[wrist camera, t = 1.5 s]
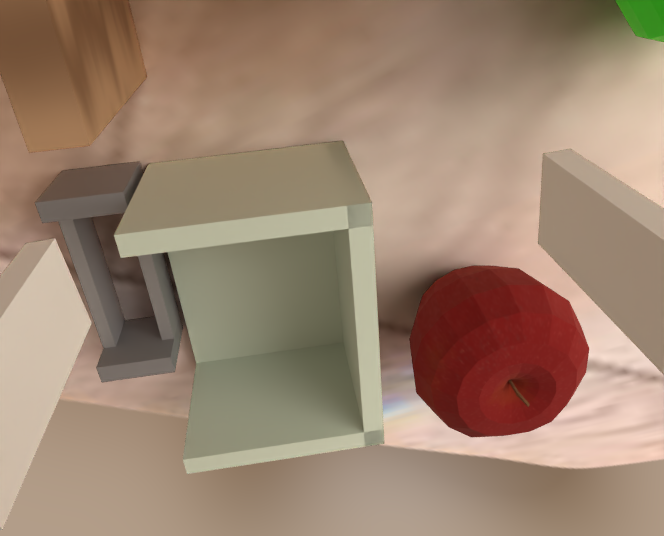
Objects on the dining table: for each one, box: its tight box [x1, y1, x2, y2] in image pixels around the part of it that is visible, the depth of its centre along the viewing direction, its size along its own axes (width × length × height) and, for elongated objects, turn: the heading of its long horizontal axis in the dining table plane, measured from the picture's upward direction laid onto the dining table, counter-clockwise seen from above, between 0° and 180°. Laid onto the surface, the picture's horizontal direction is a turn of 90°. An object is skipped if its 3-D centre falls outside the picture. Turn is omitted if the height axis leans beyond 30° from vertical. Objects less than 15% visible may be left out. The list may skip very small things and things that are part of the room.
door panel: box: [0, 0, 147, 153], centre depth 25 cm, size 8×3×13 cm, turn 5°
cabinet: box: [35, 141, 384, 474], centre depth 34 cm, size 16×17×10 cm
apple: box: [409, 266, 589, 437], centre depth 37 cm, size 11×11×12 cm
